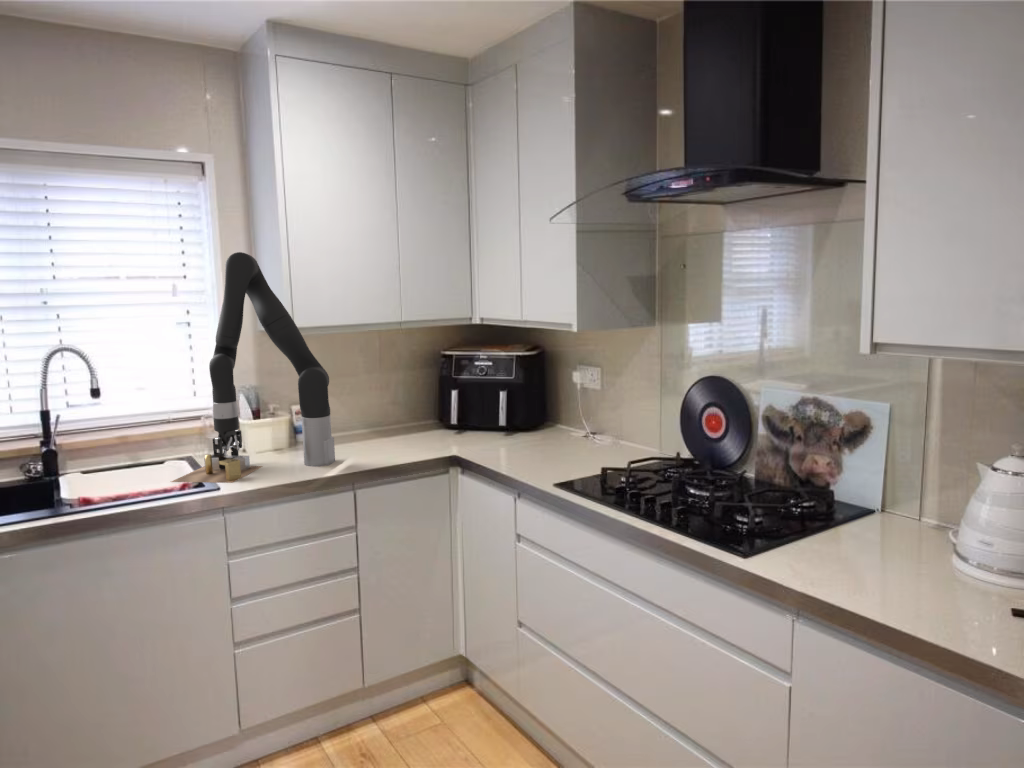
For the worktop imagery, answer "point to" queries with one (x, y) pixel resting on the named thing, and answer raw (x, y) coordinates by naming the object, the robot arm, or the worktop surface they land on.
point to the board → (212, 475)
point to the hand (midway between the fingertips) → (229, 465)
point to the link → (243, 459)
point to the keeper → (231, 468)
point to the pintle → (208, 464)
